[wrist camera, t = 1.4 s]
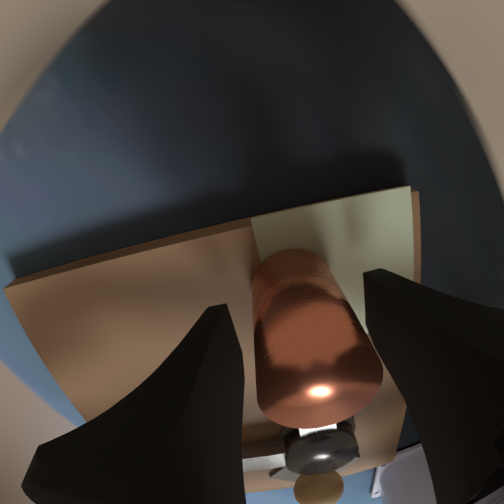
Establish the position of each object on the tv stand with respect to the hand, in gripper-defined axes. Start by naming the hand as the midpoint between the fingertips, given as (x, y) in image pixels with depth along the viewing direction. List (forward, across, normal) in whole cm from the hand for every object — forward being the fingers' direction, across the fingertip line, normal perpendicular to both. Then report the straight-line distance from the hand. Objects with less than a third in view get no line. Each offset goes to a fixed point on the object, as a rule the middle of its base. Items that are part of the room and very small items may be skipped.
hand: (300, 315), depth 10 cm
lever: (+2, +1, +5) cm, 6 cm away
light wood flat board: (+3, +4, +8) cm, 9 cm away
